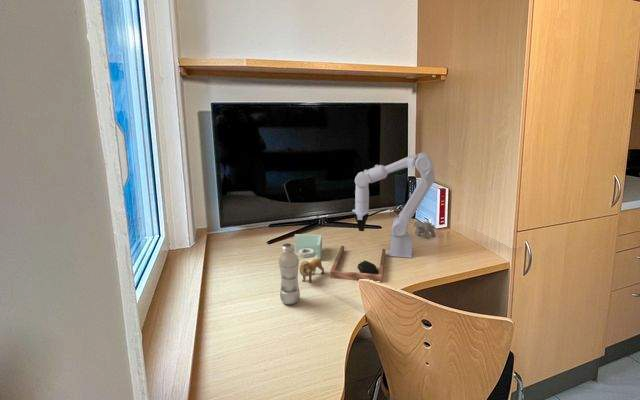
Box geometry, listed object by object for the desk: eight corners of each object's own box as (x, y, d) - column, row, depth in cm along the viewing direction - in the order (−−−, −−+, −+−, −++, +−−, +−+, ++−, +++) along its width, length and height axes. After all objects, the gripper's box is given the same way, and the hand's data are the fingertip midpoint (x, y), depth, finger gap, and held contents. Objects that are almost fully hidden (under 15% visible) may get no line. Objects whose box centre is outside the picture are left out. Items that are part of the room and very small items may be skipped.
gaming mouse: (367, 261, 146) (367, 252, 145) (380, 277, 132) (381, 268, 131) (352, 263, 145) (352, 254, 144) (364, 280, 131) (364, 270, 130)
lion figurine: (309, 288, 125) (308, 265, 123) (296, 285, 127) (295, 262, 125) (326, 271, 138) (326, 249, 135) (314, 268, 140) (314, 247, 138)
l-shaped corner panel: (295, 249, 159) (294, 234, 157) (322, 250, 158) (321, 234, 156) (291, 261, 147) (290, 244, 146) (319, 262, 146) (319, 245, 144)
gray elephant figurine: (436, 235, 173) (437, 220, 171) (430, 242, 163) (431, 226, 161) (417, 232, 178) (418, 218, 176) (410, 239, 168) (411, 223, 166)
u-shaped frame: (385, 254, 152) (385, 249, 151) (381, 282, 128) (381, 276, 128) (341, 251, 156) (341, 245, 155) (330, 277, 132) (329, 271, 132)
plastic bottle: (289, 294, 121) (287, 239, 116) (304, 300, 117) (302, 244, 112) (276, 302, 117) (272, 246, 111) (291, 309, 112) (288, 251, 107)
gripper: (354, 195, 158) (354, 224, 161) (350, 204, 144) (349, 235, 148) (370, 196, 156) (370, 225, 160) (367, 205, 143) (366, 237, 146)
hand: (361, 230), depth 154 cm, fingers closed
